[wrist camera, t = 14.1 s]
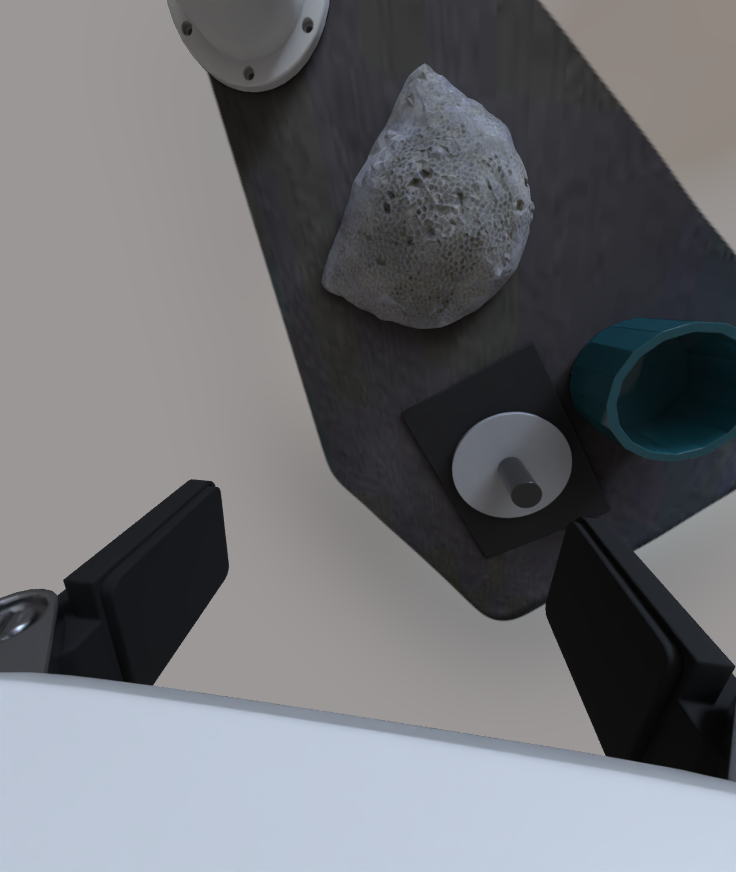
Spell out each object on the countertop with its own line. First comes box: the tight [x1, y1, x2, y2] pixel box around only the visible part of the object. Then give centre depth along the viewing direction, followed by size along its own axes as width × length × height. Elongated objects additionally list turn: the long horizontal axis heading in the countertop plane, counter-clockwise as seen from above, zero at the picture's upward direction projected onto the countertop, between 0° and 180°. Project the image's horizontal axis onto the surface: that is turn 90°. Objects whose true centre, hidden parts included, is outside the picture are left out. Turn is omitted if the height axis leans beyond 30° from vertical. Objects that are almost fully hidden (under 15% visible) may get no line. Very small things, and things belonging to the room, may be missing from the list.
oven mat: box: [401, 342, 611, 558], centre depth 38 cm, size 20×14×1 cm
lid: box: [452, 412, 572, 518], centre depth 35 cm, size 12×12×7 cm
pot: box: [569, 318, 736, 462], centre depth 31 cm, size 11×11×8 cm
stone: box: [321, 63, 535, 329], centre depth 30 cm, size 18×8×15 cm
